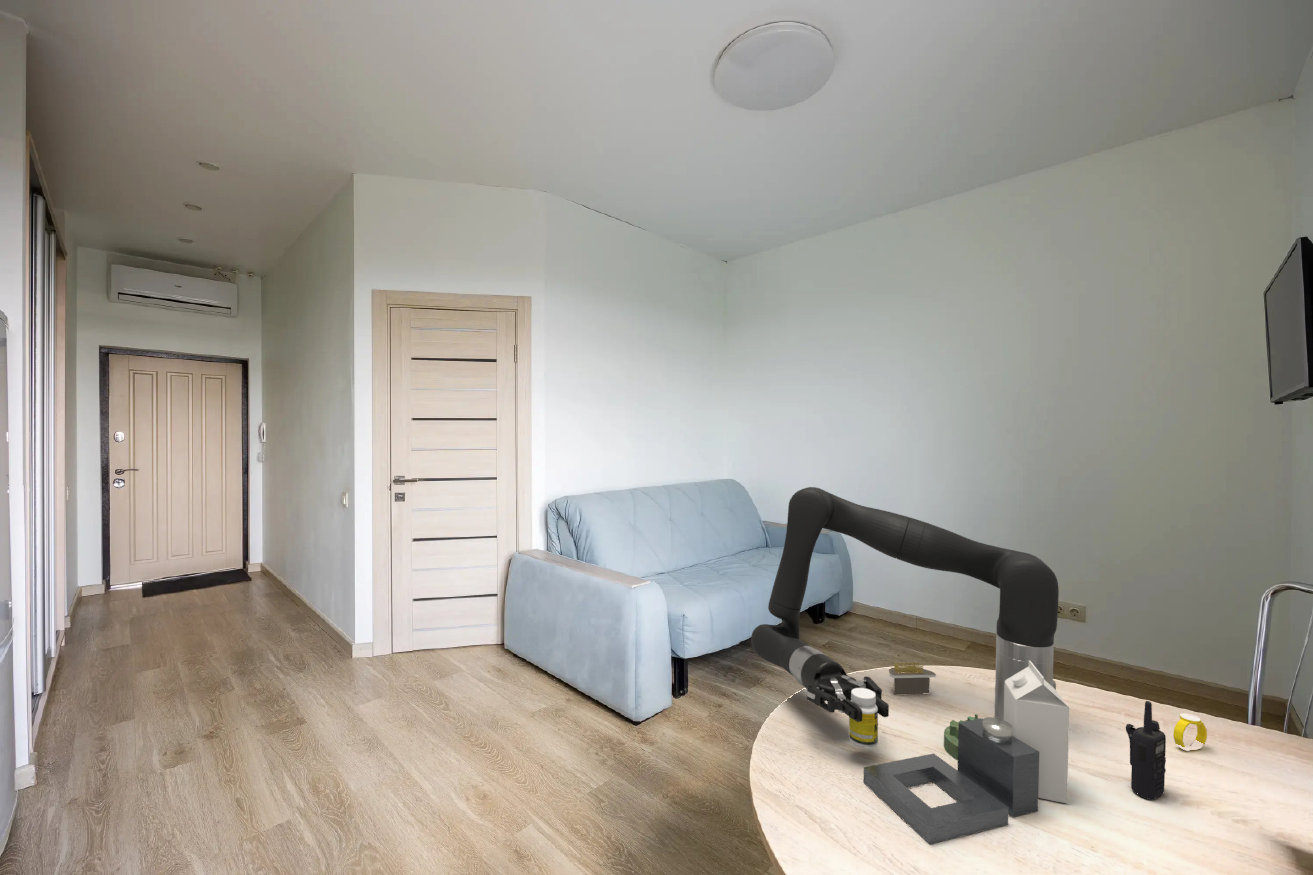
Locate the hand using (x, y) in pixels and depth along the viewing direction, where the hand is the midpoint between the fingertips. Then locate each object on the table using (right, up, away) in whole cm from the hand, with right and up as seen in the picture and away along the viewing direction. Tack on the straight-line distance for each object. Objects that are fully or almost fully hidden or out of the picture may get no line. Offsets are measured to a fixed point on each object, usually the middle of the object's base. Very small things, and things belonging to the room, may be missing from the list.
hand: (873, 713), depth 94 cm
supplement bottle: (-1, -6, +3) cm, 7 cm away
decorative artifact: (+20, -10, +5) cm, 23 cm away
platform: (+19, -10, +28) cm, 35 cm away
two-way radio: (+41, -10, -5) cm, 42 cm away
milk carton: (+24, -10, -4) cm, 26 cm away
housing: (+9, -9, -8) cm, 15 cm away
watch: (+60, -10, +7) cm, 61 cm away
